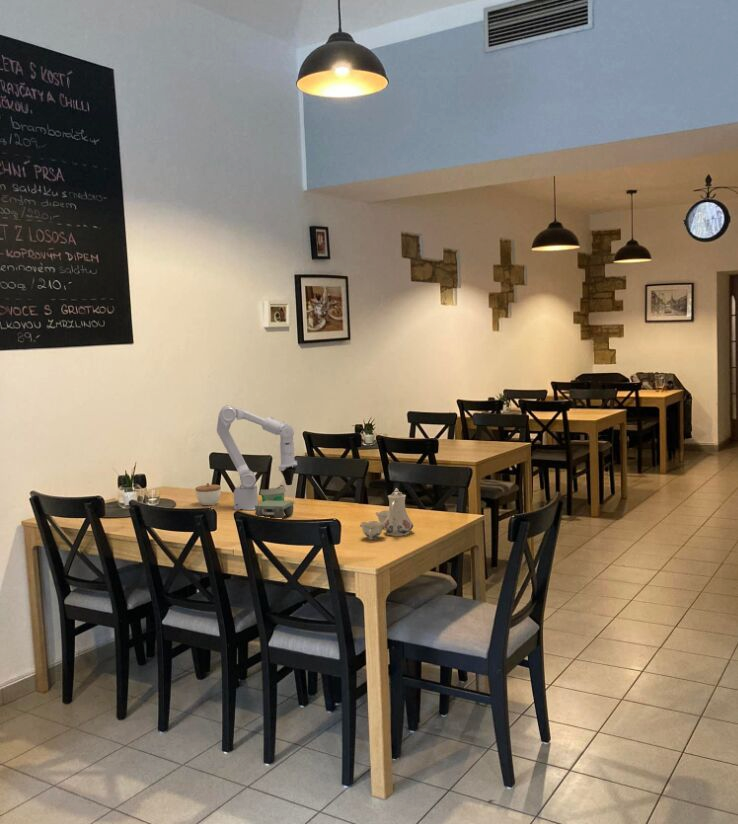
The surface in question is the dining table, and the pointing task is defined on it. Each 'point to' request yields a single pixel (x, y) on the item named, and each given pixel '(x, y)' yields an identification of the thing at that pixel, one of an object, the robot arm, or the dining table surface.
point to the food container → (273, 494)
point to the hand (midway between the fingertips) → (289, 484)
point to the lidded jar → (208, 494)
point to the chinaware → (390, 519)
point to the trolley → (274, 508)
